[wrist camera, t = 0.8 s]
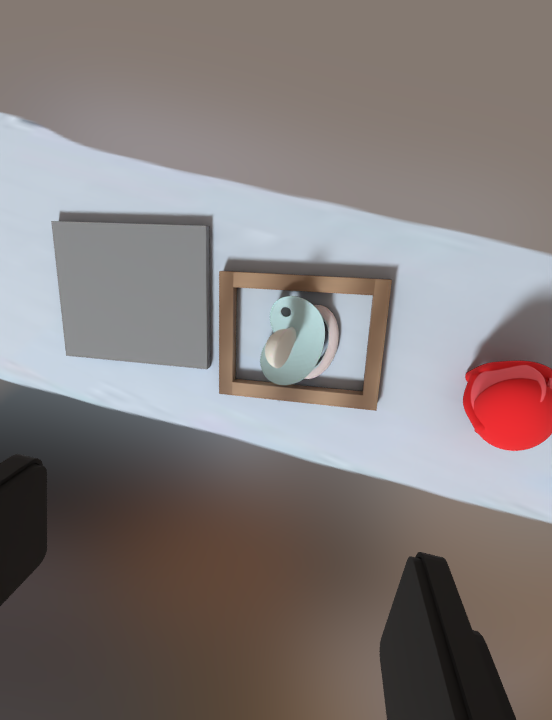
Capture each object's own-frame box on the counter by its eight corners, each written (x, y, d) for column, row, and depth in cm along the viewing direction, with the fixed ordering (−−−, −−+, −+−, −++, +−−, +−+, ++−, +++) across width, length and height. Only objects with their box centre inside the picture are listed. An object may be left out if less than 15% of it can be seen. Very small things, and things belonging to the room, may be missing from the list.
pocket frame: (390, 279, 30) (391, 280, 29) (375, 406, 32) (376, 410, 31) (223, 270, 32) (219, 271, 31) (222, 389, 35) (219, 393, 34)
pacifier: (348, 305, 31) (277, 288, 32) (351, 317, 25) (263, 296, 26) (325, 387, 33) (259, 370, 34) (323, 416, 27) (243, 394, 28)
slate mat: (209, 226, 31) (205, 225, 30) (210, 366, 34) (207, 369, 34) (58, 221, 34) (51, 221, 33) (72, 353, 37) (66, 355, 36)
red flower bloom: (463, 348, 27) (455, 433, 25) (568, 352, 24) (567, 448, 22) (468, 379, 34) (462, 448, 32) (551, 385, 30) (549, 461, 29)
